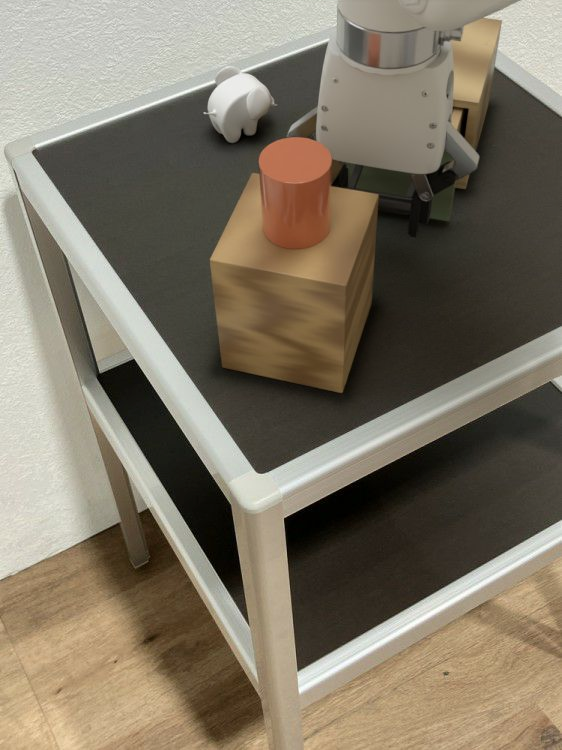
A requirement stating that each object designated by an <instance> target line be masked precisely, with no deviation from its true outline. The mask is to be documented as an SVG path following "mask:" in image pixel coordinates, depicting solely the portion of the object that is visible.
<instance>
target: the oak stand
mask: <svg viewBox="0 0 562 750" xmlns="http://www.w3.org/2000/svg"><path fill="white" fill-rule="evenodd" d="M378 198H379V195H378V194H374V193H368V192H362V191H356V190H351V189H345V188H339V187H333V186H332V188H331V228H330V232H329V234H328V235H327V237H326V238H325V239H324V240H323V241H321V242H320V243H318V244H316V245H314V246H312V247H308V248H303V249H288V248H284V247H280V246H278V245H276V244H274V243H272V242H271V241H270V240H269V239H268V238H267V237H266V236H265V234H264V232H263V229H262V212H261V194H260V176H259V173H258V172H252V173H251V175H250V177H249V179H248V180H247V183H246V185H245V187H244V188H243V191H242V193H241V195H240V197H239V198H238V201H237V203H236V205H235V208H234V209H233V211H232V212H231V215H230V217H229V220H228V221H227V224H226V225H225V228H224V230H223V232H222V233H221V236H220V238H219V239H218V242H217V244H216V246H215V248H214V250H213V252H212V254H211V256H210V258H209V264H210V273H211V274H210V275H211V282H212V291H213V300H214V306H215V307H214V308H215V317H216V325H217V335H218V342H219V351H220V359H221V367H222V368H223V369H227V370H233V371H237V372H242V373H246V374H251V375H256V376H261V377H264V378H270V379H274V380H279V381H283V382H288V383H293V384H298V385H302V386H307V387H311V388H316V389H320V390H325V391H329V392H335V393H339V394H343V393H344V390H345V386H346V384H347V382H348V381H347V380H348V378H349V374H350V371H351V368H352V366H353V363H354V359H355V356H356V353H357V350H358V346H359V344H360V341H361V337H362V334H363V331H364V328H365V326H366V323H367V320H368V317H369V314H370V311H371V307H372V304H373V287H374V274H375V273H374V272H375V260H376V259H375V258H376V240H377V229H378V228H377V227H378V211H379V209H378Z"/></svg>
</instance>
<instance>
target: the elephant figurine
mask: <svg viewBox="0 0 562 750" xmlns="http://www.w3.org/2000/svg"><path fill="white" fill-rule="evenodd" d="M214 82H215V84H216V87H215V88H214V89H213V91H212V92H211V94H210V95H209V98H208V102H207V112H205V111H204V112H203V115H208V117H209V119H210V122H211V124H212V126H213V128H214V129H215V131H216V132H217V133H218V134H221V135H223V137H224V138H225V140H226V141H227V142H228V143H231V144H234V143H237V142H239V140H240V139H241V135H242V131H243V133H244V135H245V136H254V135H255V134H256V132H257V127H258V121H259V119H260V118H262V117H264V116H265V115H267V114H268V113H269V111H270V110H271V109H272V108H273V107H276V106H278V104H276V103H275V98H274V97H273V96H272V95H271V93H270V91H269V89H268V87H267V86H266V85H265V84H263V83H262V82H261V81H260V80H259V79H257V78H256V76H254V75H252V74H250V73H244V72H243V71H242V70H240V69H239V68H238V67H237V66H234V65H228V66H225V67H223V68H222V69H220V70H219V71H218V72H217V73H216V75H215V78H214Z"/></svg>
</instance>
